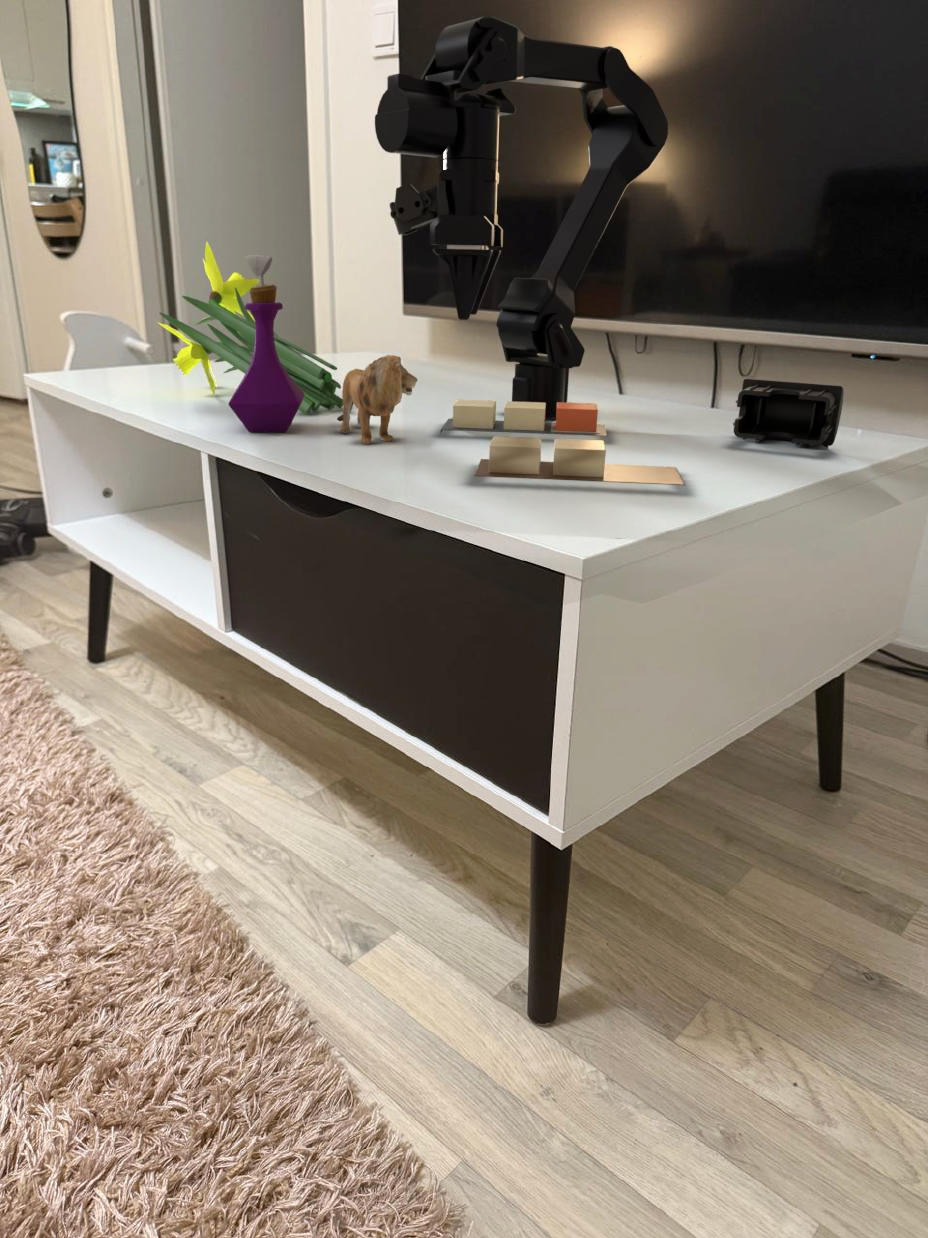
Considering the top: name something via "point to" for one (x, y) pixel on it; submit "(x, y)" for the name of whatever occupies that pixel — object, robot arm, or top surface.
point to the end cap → (789, 411)
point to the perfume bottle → (265, 366)
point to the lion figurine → (375, 394)
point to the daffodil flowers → (247, 341)
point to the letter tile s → (576, 417)
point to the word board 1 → (506, 418)
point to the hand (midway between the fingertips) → (467, 316)
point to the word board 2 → (566, 463)
